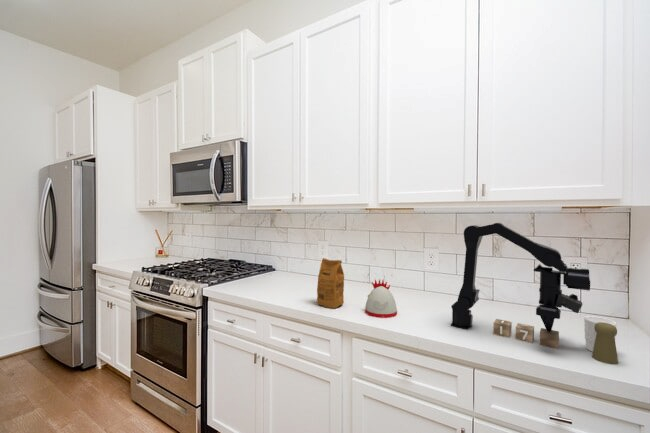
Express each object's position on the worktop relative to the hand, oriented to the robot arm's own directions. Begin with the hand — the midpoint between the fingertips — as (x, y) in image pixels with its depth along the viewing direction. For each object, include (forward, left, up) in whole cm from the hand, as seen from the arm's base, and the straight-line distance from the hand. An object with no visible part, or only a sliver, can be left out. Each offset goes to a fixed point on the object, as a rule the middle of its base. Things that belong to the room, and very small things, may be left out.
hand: (549, 331), depth 105 cm
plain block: (0, 0, -5) cm, 5 cm away
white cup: (+13, +5, -5) cm, 15 cm away
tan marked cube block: (-7, 0, -5) cm, 8 cm away
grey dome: (-60, -8, -5) cm, 61 cm away
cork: (+14, -2, -5) cm, 15 cm away
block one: (-14, 0, -5) cm, 15 cm away
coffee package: (-84, -14, -5) cm, 85 cm away
